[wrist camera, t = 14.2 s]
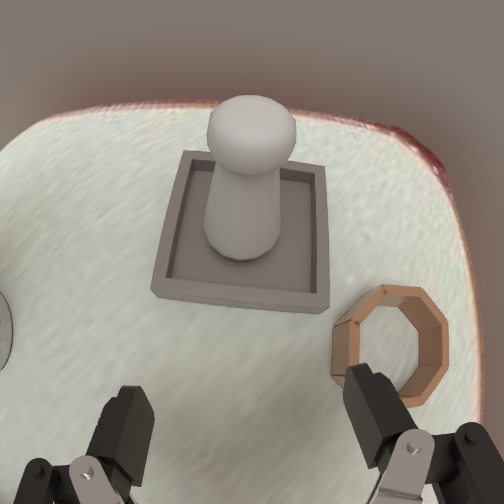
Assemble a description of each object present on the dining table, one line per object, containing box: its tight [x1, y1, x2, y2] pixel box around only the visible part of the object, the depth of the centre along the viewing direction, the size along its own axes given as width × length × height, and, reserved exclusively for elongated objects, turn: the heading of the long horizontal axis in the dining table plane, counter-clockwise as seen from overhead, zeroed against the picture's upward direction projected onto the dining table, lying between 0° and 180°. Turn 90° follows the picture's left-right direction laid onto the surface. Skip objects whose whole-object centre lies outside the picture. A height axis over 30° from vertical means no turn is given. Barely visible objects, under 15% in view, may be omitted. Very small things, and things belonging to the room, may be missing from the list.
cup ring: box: [331, 285, 449, 408], centre depth 20 cm, size 10×10×4 cm
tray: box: [150, 150, 330, 314], centre depth 24 cm, size 13×13×2 cm
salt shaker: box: [203, 95, 296, 261], centre depth 18 cm, size 6×6×13 cm
